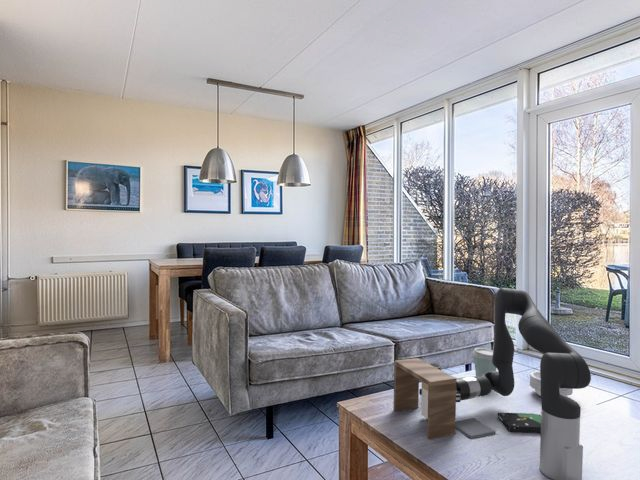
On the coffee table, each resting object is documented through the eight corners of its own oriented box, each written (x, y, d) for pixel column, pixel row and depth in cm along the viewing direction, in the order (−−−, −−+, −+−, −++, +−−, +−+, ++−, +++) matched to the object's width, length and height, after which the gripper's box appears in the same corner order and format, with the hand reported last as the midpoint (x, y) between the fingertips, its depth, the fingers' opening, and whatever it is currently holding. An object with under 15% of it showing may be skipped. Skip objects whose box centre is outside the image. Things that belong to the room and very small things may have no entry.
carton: (439, 418, 141) (440, 378, 140) (428, 420, 139) (429, 380, 139) (431, 412, 145) (432, 373, 145) (420, 414, 143) (421, 375, 143)
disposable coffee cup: (493, 380, 181) (494, 347, 180) (501, 390, 170) (502, 354, 170) (469, 379, 182) (470, 346, 182) (475, 388, 171) (476, 353, 171)
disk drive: (509, 434, 134) (555, 435, 134) (509, 426, 134) (555, 427, 134) (497, 419, 145) (539, 420, 144) (497, 412, 145) (539, 412, 144)
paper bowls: (564, 390, 171) (565, 372, 170) (578, 406, 156) (578, 385, 156) (525, 386, 174) (525, 368, 174) (534, 401, 160) (535, 381, 159)
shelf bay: (455, 434, 133) (456, 378, 132) (429, 439, 129) (430, 382, 129) (416, 406, 153) (417, 358, 153) (393, 410, 150) (394, 360, 149)
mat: (495, 433, 133) (495, 431, 133) (471, 438, 130) (471, 436, 130) (473, 419, 143) (474, 417, 143) (450, 424, 139) (450, 422, 139)
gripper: (451, 371, 154) (412, 377, 147) (478, 385, 140) (437, 392, 134) (450, 391, 154) (412, 397, 148) (477, 406, 140) (436, 414, 134)
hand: (424, 394), depth 141 cm, fingers closed on carton, 4 cm apart
